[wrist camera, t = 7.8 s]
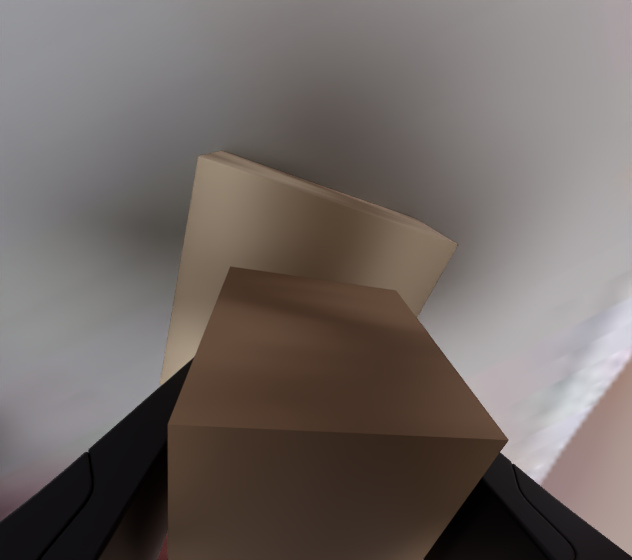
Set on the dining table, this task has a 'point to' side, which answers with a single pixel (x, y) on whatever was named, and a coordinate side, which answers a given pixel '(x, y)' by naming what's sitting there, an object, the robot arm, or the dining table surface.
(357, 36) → the dining table surface
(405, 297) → the maple base block
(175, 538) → the walnut cube
